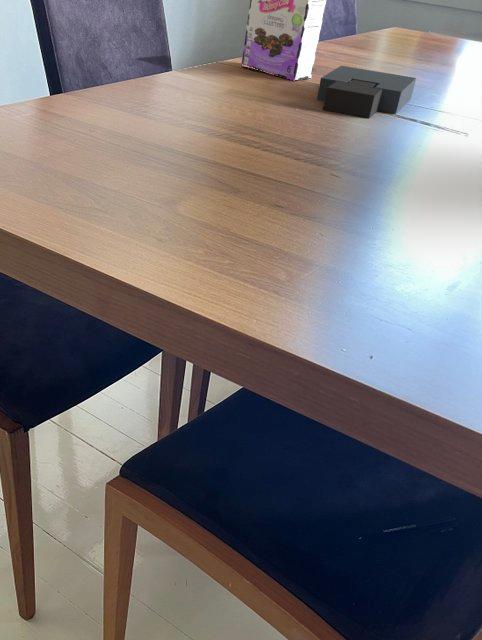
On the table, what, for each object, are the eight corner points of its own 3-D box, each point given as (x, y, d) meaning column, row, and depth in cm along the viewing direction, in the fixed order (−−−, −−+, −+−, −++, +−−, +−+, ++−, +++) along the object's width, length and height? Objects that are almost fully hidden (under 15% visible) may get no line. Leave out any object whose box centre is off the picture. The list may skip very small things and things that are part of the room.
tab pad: (381, 107, 128) (387, 85, 125) (369, 118, 121) (374, 95, 119) (337, 99, 130) (341, 77, 128) (322, 109, 123) (327, 87, 121)
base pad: (410, 98, 135) (416, 77, 132) (395, 114, 124) (401, 91, 122) (336, 85, 139) (341, 65, 137) (316, 99, 129) (320, 77, 127)
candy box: (239, 67, 146) (252, -31, 136) (258, 64, 150) (272, -31, 140) (293, 82, 139) (312, -21, 129) (312, 79, 142) (331, -21, 132)
